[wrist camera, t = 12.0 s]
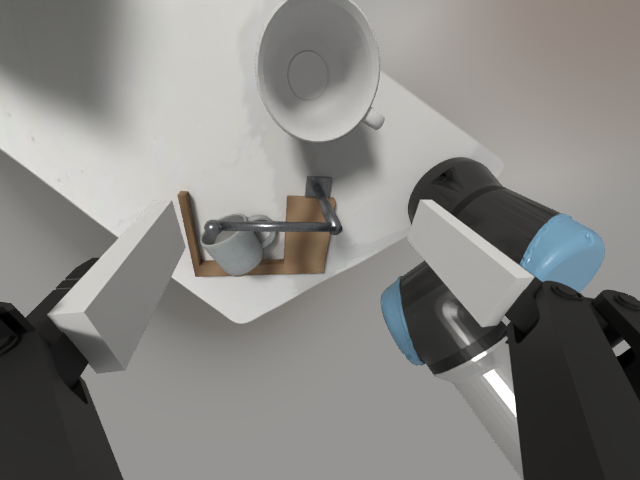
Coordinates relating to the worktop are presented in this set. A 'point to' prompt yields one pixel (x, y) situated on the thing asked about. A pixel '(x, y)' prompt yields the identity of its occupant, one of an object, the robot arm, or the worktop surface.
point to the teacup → (318, 69)
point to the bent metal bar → (314, 189)
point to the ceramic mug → (237, 247)
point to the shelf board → (300, 247)
